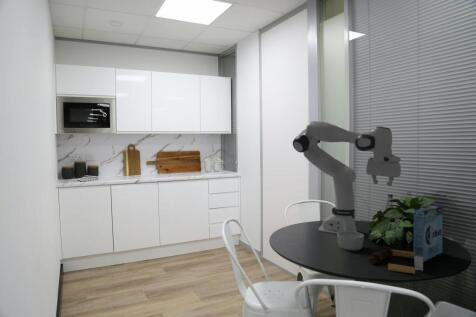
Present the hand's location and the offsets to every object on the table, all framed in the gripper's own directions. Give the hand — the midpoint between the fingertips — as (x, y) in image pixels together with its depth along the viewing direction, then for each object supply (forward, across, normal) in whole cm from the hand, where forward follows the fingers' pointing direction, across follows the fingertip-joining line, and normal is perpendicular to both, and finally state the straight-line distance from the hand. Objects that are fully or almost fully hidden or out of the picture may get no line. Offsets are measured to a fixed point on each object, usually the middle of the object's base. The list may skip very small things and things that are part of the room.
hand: (382, 184), depth 168 cm
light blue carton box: (+33, +19, +10) cm, 39 cm away
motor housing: (+33, +23, -9) cm, 41 cm away
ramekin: (+33, -5, -16) cm, 37 cm away
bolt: (+33, +15, -16) cm, 40 cm away
